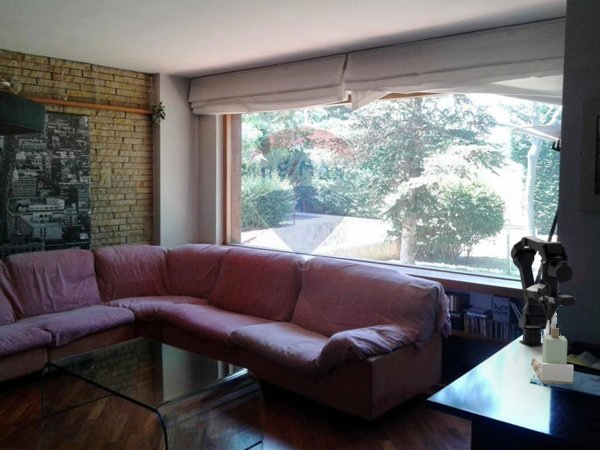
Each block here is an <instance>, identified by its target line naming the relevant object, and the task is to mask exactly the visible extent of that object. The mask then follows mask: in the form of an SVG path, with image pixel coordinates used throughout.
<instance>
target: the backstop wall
mask: <svg viewBox="0 0 600 450" xmlns="http://www.w3.org/2000/svg"><path fill="white" fill-rule="evenodd" d="M574 370H575V369H574V364H570V363H569V364H568V363H566V364H556V363H541V380H552V381H565V382H573V383H574Z"/></svg>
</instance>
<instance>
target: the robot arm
mask: <svg viewBox="0 0 600 450" xmlns="http://www.w3.org/2000/svg"><path fill="white" fill-rule="evenodd" d="M537 253H538V254H537ZM536 255H538V256H540V258H541V259H540V263H541V278H538V280H537V284H536V281H535V277H534V273H533V264H534V262H535V260H536V259H535V258H536V257H535V256H536ZM510 258H511V259H512V263H513V265H514V266H516V268H517V269H518V271H519V279H520V283H521V287H522V289H521V290H522V294H523V300H524V306H523V308H522V311H521V313H522V314H521V316H520V318H519V319H518V327H519V328H521V329H522V340H519V343H522V344H524V345H526V346H528V347H537V346H543V342H542V336H543V335H542V330H545V329H546V326H547V321H548V320H551V319H552V317H553V315H554V314H555V312H556V310H557V309H558V307H559V306H563V307H569V306H576V305H577V303H576V302H577V299H576V297H574V296H573V295H568V294H562V291H560V284H562V283H567V282H569V281H571V279H572V278H573V276H574V272H573V270H572V268H571V266H569V265H568V263H569V256H568V253H567V252H566V249H565V245H563V243H562V242H561V241H547V240H544V239H542V238H538V237H537V236H532V235H531V236H530V235H529V236H528V235H527V236H525V235H524V236H523V237H522V238H521V239H520V240H519V241H517V242H516V243H515V244H513V246H512V248H511V250H510Z"/></svg>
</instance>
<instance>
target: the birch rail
mask: <svg viewBox="0 0 600 450" xmlns="http://www.w3.org/2000/svg"><path fill="white" fill-rule="evenodd" d="M541 363H542V361H540V362H538V360H537V359H536V357H532V358H531V362H530V364H531V367H532V369H533V371H534V372H535V374H536V376H537V375H538V376H537V377H539V378H538V379H539V381H540V383H541V382H545V383H544V384H550V383H555V384H554V385H562V384H573V385H574V381H573V382H565V381H552V380H541Z"/></svg>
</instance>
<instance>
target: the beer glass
mask: <svg viewBox="0 0 600 450" xmlns="http://www.w3.org/2000/svg"><path fill="white" fill-rule="evenodd" d="M556 316H557V313H556V312H555V314H554V315H553V317H552V319H551V320H548V321H547V326H546V329H544V333H543V335H551V330H552V327H556V324H557V317H556Z"/></svg>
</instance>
